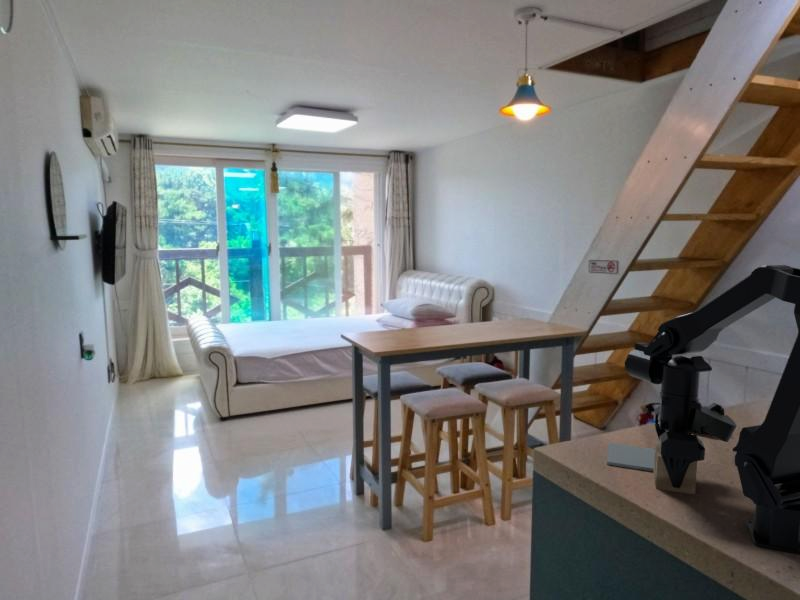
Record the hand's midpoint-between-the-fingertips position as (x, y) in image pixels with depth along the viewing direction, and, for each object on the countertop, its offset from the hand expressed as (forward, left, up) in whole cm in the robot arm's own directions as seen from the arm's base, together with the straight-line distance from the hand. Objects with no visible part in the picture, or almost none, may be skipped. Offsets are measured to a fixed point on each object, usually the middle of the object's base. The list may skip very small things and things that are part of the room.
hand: (673, 477), depth 92 cm
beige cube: (0, 0, -1) cm, 1 cm away
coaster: (+9, +6, -1) cm, 11 cm away
